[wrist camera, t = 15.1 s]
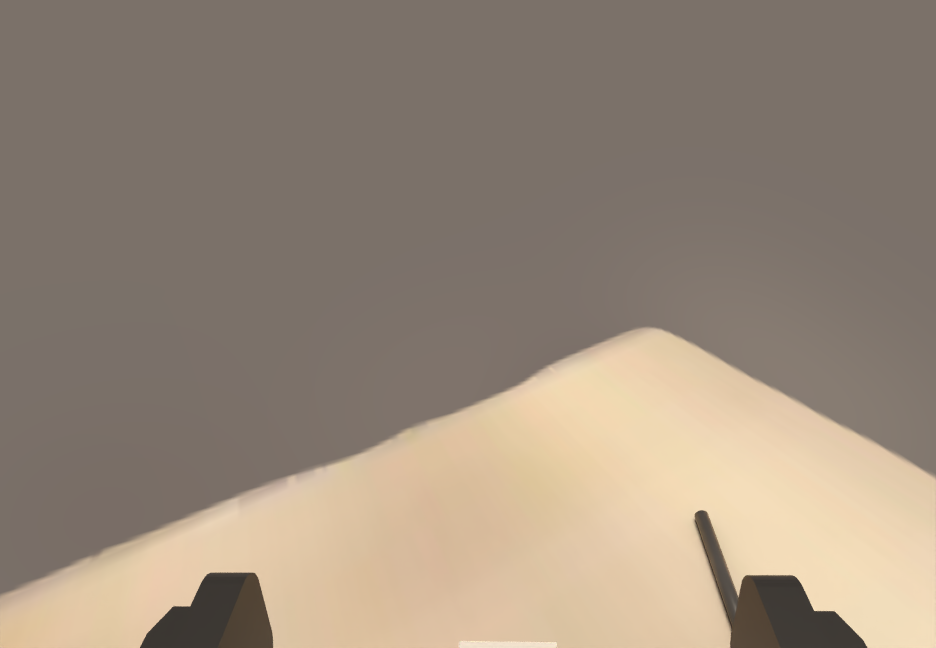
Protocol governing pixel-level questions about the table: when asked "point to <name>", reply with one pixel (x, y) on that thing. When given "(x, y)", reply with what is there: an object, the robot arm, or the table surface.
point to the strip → (718, 564)
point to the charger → (506, 644)
